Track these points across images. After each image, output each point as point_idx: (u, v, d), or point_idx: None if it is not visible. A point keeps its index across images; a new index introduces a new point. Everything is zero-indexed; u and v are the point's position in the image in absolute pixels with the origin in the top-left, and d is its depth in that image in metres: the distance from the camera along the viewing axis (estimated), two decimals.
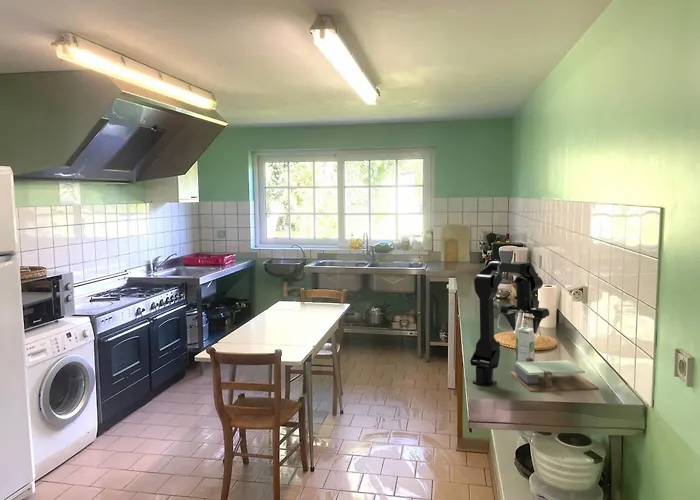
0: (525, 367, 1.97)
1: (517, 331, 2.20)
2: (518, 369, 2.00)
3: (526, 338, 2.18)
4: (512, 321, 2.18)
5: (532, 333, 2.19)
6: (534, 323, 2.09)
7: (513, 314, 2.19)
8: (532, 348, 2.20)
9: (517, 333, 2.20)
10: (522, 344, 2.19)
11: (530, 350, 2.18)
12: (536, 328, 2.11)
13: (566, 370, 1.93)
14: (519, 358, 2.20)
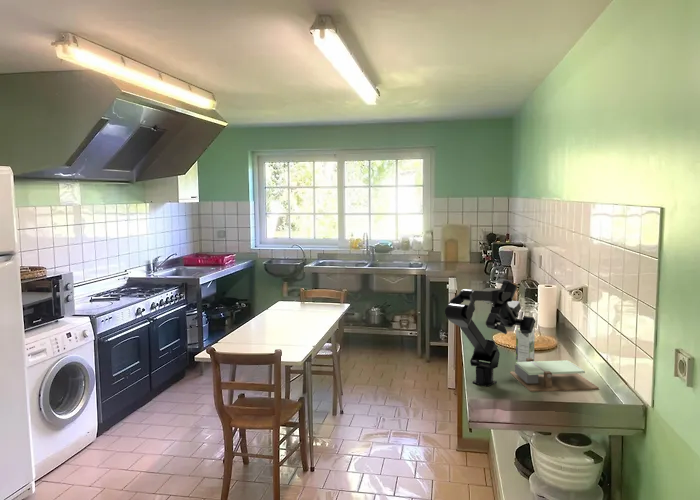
0: (525, 367, 1.97)
1: (517, 331, 2.20)
2: (518, 369, 2.00)
3: (526, 338, 2.18)
4: (501, 329, 2.16)
5: (532, 333, 2.19)
6: (524, 334, 2.08)
7: None
8: (532, 348, 2.20)
9: (517, 333, 2.20)
10: (522, 344, 2.19)
11: (530, 350, 2.18)
12: (527, 334, 2.10)
13: (566, 370, 1.93)
14: (519, 358, 2.20)
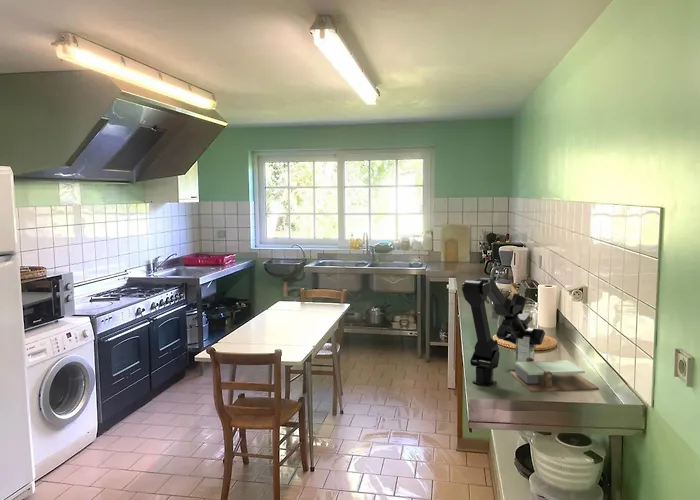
0: (525, 367, 1.97)
1: None
2: (518, 369, 2.00)
3: (526, 338, 2.18)
4: (513, 341, 2.22)
5: None
6: (532, 345, 2.15)
7: None
8: (532, 348, 2.20)
9: None
10: (522, 344, 2.19)
11: (530, 350, 2.18)
12: (535, 345, 2.18)
13: (566, 370, 1.93)
14: (519, 357, 2.20)
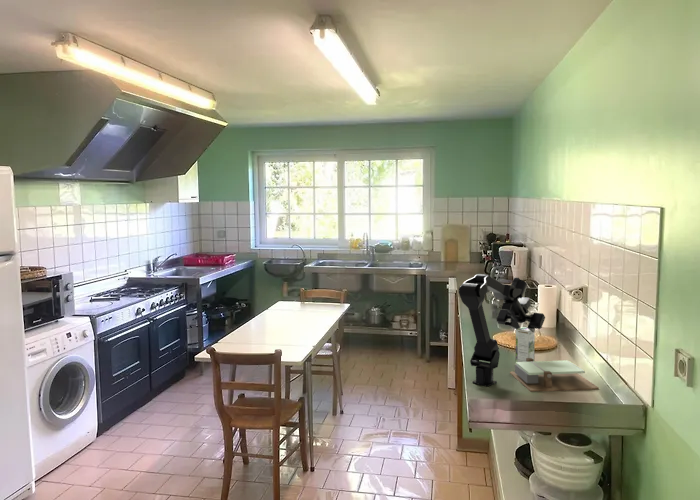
0: (525, 367, 1.97)
1: (517, 331, 2.20)
2: (518, 369, 2.00)
3: (526, 338, 2.18)
4: (515, 326, 2.21)
5: (532, 333, 2.19)
6: (530, 329, 2.15)
7: None
8: (532, 348, 2.20)
9: (517, 333, 2.20)
10: (522, 344, 2.19)
11: (530, 350, 2.18)
12: (533, 329, 2.18)
13: (566, 370, 1.93)
14: (519, 357, 2.20)
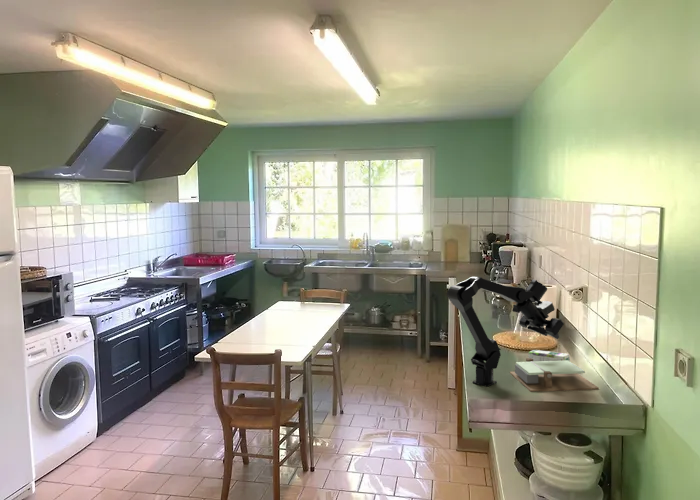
0: (525, 367, 1.97)
1: (561, 357, 2.08)
2: (518, 369, 2.00)
3: None
4: (540, 330, 2.11)
5: None
6: (550, 335, 2.04)
7: None
8: None
9: (559, 357, 2.09)
10: None
11: None
12: (555, 335, 2.05)
13: (566, 370, 1.93)
14: (534, 357, 2.16)
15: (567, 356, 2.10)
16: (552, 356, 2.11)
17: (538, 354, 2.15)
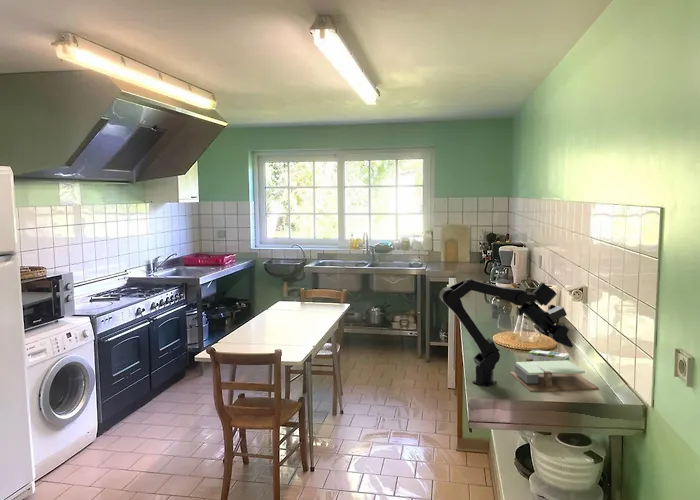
0: (525, 367, 1.97)
1: (561, 357, 2.08)
2: (518, 369, 2.00)
3: None
4: None
5: None
6: None
7: None
8: None
9: (559, 357, 2.09)
10: None
11: None
12: (567, 344, 1.92)
13: (566, 370, 1.93)
14: (534, 357, 2.16)
15: (567, 356, 2.10)
16: (552, 356, 2.11)
17: (538, 354, 2.15)
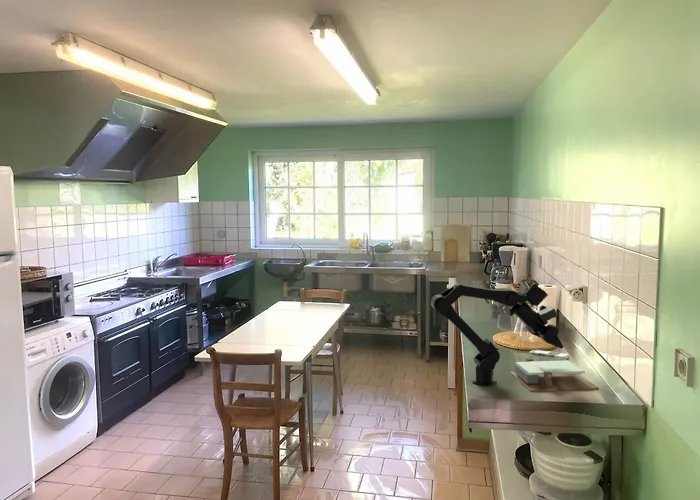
0: (525, 367, 1.97)
1: (561, 357, 2.08)
2: (518, 369, 2.00)
3: None
4: None
5: None
6: None
7: None
8: None
9: (559, 357, 2.09)
10: None
11: None
12: (558, 345, 1.92)
13: (566, 370, 1.93)
14: (534, 357, 2.16)
15: (567, 356, 2.10)
16: (552, 356, 2.11)
17: (538, 354, 2.15)
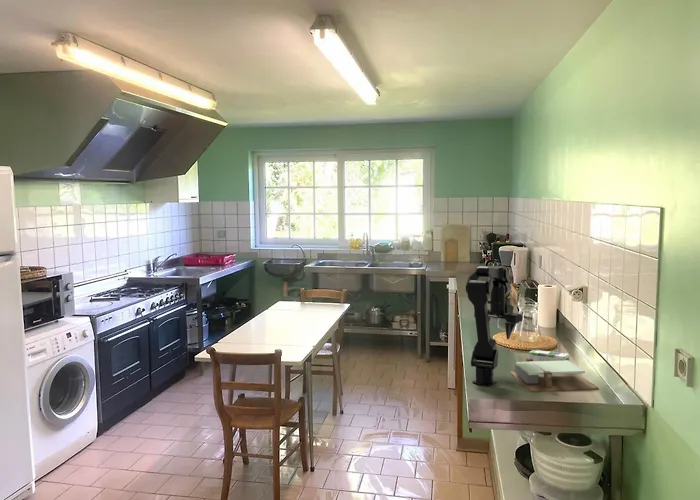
0: (525, 367, 1.97)
1: (561, 357, 2.08)
2: (518, 369, 2.00)
3: None
4: None
5: None
6: (507, 328, 2.07)
7: None
8: None
9: (559, 357, 2.09)
10: None
11: None
12: (509, 333, 2.09)
13: (566, 370, 1.93)
14: (534, 357, 2.16)
15: (567, 356, 2.10)
16: (552, 356, 2.11)
17: (538, 354, 2.15)
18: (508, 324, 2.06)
